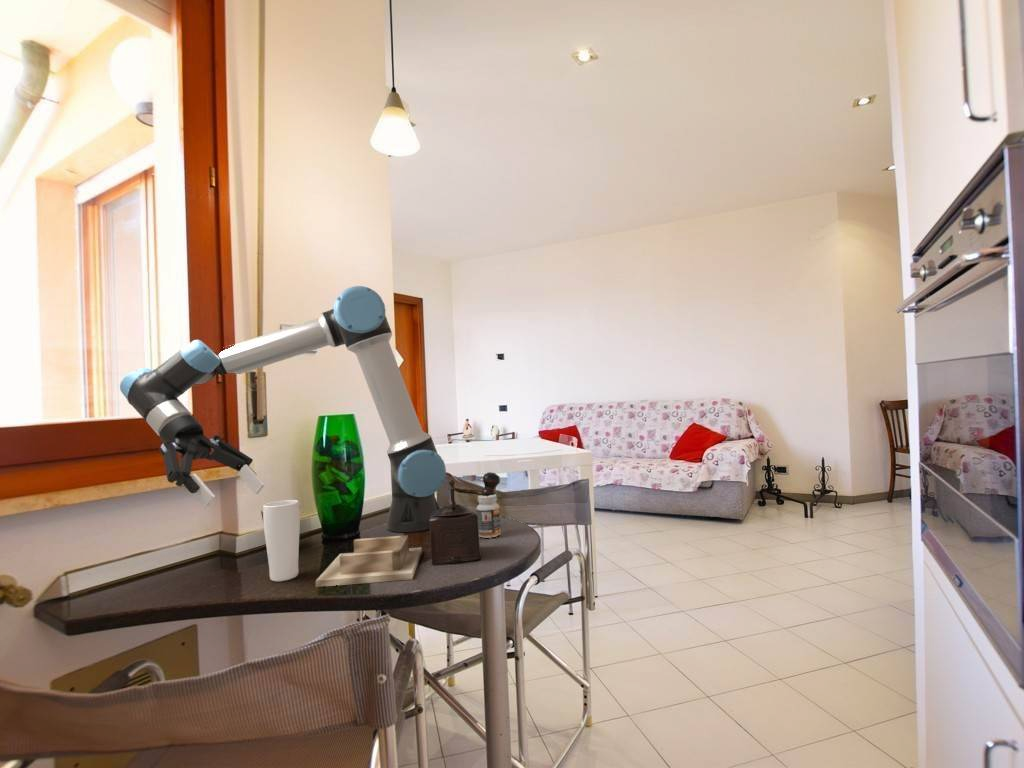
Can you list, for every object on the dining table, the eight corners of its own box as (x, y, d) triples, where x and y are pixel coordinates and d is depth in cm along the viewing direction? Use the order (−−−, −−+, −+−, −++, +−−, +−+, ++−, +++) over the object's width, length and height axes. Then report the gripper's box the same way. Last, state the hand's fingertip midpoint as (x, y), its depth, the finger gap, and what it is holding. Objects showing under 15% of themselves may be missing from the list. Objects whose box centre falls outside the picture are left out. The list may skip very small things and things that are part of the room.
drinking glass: (308, 571, 109) (305, 499, 110) (291, 583, 102) (288, 505, 103) (277, 572, 110) (274, 500, 110) (258, 584, 103) (255, 507, 103)
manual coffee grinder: (430, 566, 108) (425, 478, 108) (431, 552, 119) (427, 471, 119) (505, 559, 110) (500, 472, 110) (499, 545, 121) (495, 466, 121)
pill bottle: (500, 538, 127) (498, 497, 127) (476, 539, 127) (474, 498, 127) (501, 532, 132) (499, 493, 133) (478, 534, 132) (476, 494, 133)
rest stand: (315, 587, 99) (314, 562, 99) (340, 559, 117) (339, 537, 117) (412, 579, 100) (410, 554, 101) (421, 552, 118) (420, 531, 119)
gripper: (213, 434, 126) (268, 496, 122) (109, 444, 102) (174, 522, 98) (230, 411, 125) (287, 473, 121) (129, 415, 101) (196, 493, 97)
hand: (236, 495), depth 109 cm, fingers open, 13 cm apart
